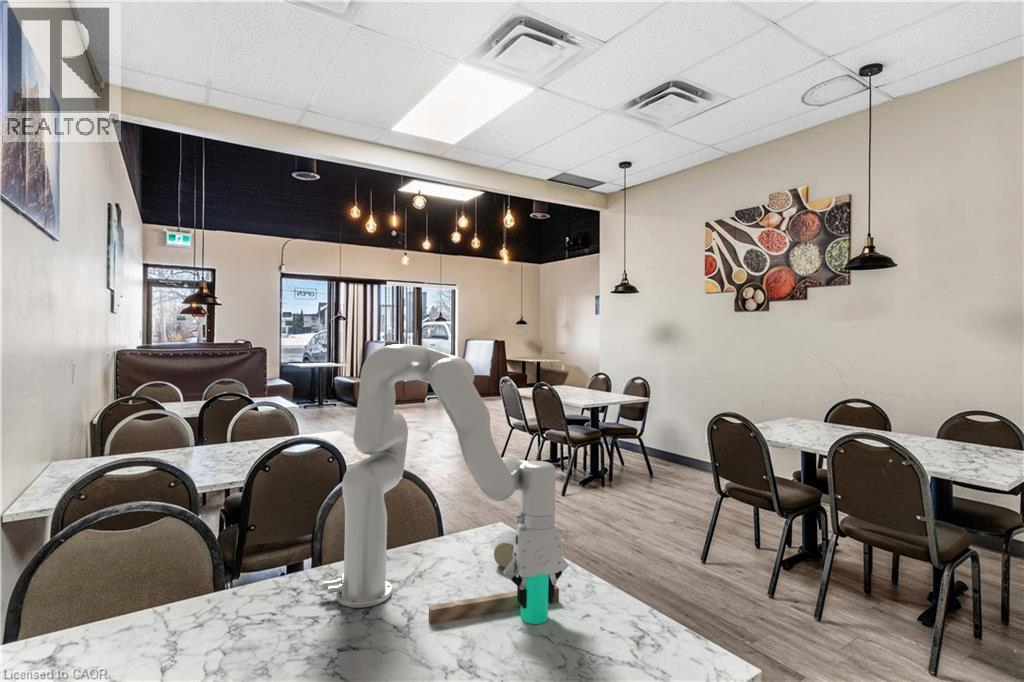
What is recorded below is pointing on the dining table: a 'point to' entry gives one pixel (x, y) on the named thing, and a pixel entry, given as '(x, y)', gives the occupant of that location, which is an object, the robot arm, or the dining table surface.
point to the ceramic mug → (505, 549)
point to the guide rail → (477, 607)
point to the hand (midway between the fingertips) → (535, 602)
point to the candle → (536, 599)
